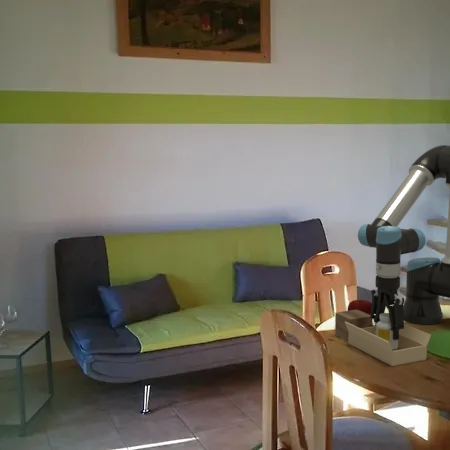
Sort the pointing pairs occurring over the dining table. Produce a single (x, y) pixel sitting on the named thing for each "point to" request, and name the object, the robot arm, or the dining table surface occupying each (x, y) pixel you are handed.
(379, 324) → the pill bottle
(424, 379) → the dining table surface
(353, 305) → the apple
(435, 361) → the dining table surface
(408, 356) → the carton
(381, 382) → the dining table surface
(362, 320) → the block
